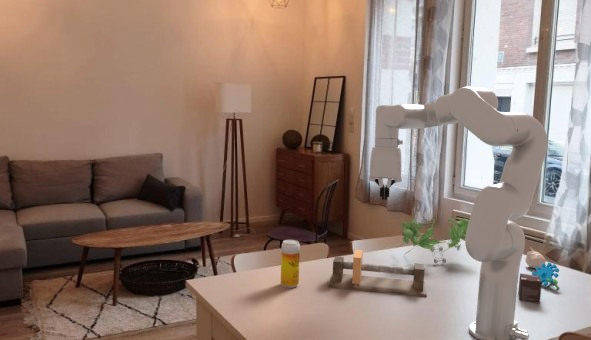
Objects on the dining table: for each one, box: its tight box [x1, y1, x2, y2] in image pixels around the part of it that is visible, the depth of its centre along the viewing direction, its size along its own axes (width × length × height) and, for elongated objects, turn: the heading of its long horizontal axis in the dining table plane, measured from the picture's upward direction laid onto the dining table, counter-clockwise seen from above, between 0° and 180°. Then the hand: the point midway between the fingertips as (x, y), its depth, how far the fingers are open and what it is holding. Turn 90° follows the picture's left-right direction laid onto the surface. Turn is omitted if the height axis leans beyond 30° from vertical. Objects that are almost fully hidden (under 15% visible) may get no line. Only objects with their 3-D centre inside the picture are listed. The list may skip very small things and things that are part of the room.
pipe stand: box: [327, 255, 428, 298], centre depth 170 cm, size 32×12×8 cm, turn 79°
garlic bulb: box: [525, 246, 547, 269], centre depth 193 cm, size 7×6×8 cm
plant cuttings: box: [397, 217, 470, 266], centre depth 198 cm, size 35×17×22 cm
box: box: [517, 273, 543, 304], centre depth 162 cm, size 6×6×7 cm
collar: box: [352, 249, 364, 284], centre depth 171 cm, size 2×9×9 cm, turn 169°
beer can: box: [280, 239, 301, 289], centre depth 167 cm, size 6×6×15 cm
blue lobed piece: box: [530, 262, 560, 290], centre depth 176 cm, size 11×6×10 cm
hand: (384, 199), depth 165 cm, fingers closed
